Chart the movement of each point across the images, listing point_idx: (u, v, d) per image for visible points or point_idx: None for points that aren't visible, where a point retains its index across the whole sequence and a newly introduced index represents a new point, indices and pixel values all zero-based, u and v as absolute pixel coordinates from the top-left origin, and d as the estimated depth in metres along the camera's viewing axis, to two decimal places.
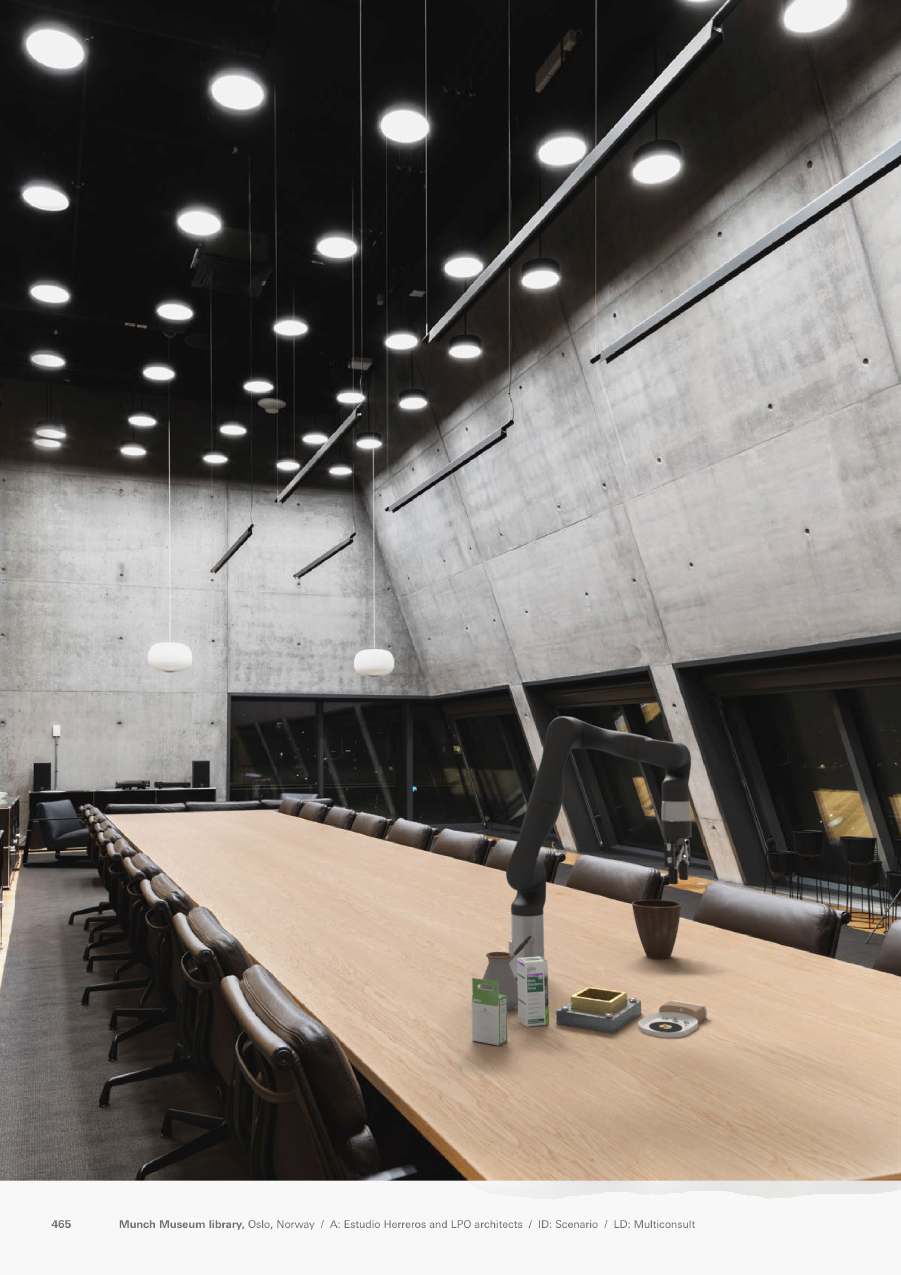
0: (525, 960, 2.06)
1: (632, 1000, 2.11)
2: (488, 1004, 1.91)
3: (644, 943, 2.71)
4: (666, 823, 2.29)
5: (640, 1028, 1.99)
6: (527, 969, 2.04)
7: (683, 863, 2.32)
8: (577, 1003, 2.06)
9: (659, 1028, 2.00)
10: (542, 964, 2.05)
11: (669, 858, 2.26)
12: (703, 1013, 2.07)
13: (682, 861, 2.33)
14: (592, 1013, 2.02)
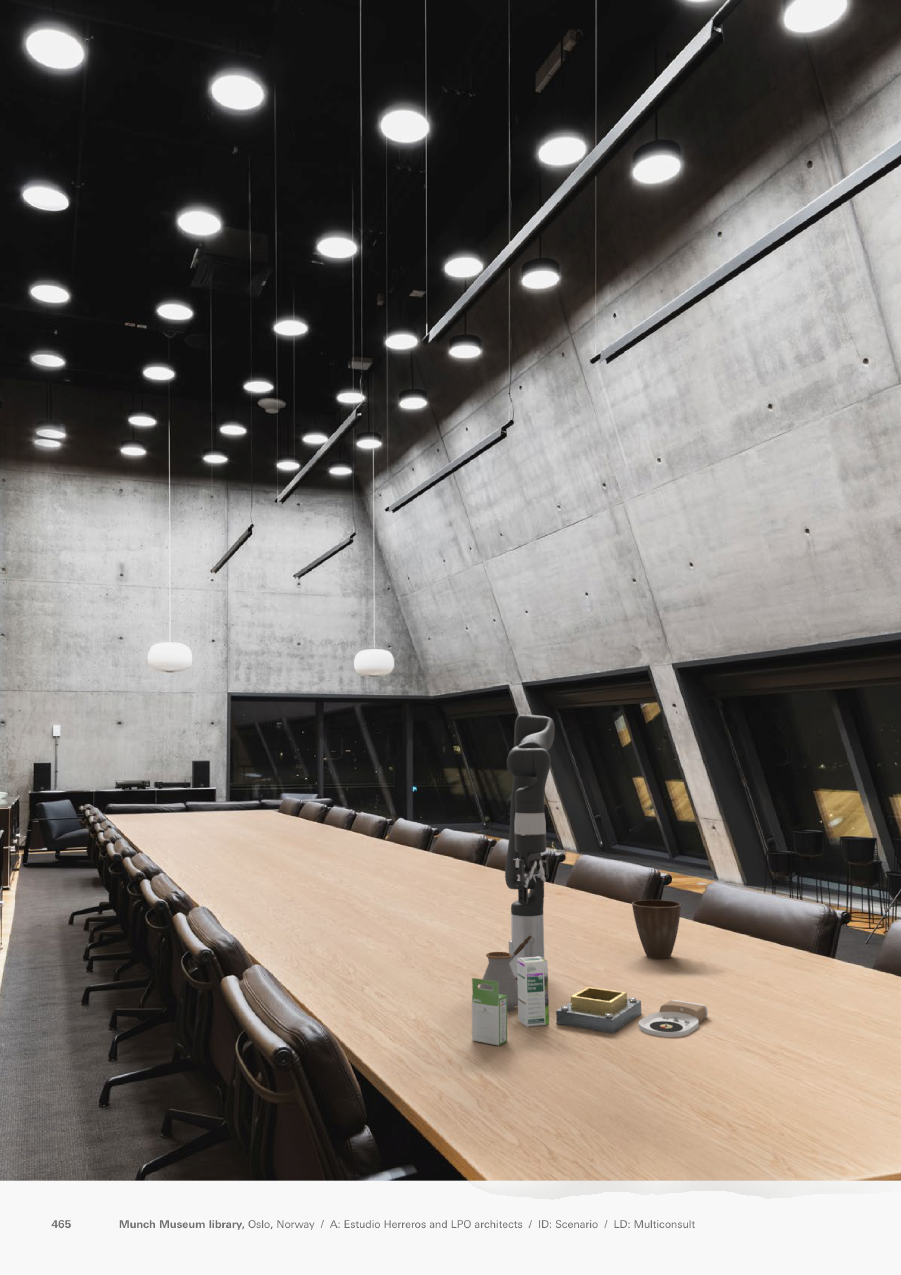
0: (525, 960, 2.06)
1: (632, 1000, 2.11)
2: (488, 1004, 1.91)
3: (644, 943, 2.71)
4: (518, 837, 2.09)
5: (641, 1028, 1.99)
6: (527, 969, 2.04)
7: (539, 880, 2.13)
8: (577, 1003, 2.06)
9: (660, 1028, 2.00)
10: (542, 964, 2.05)
11: (519, 875, 2.07)
12: (704, 1013, 2.08)
13: (538, 878, 2.14)
14: (592, 1013, 2.02)
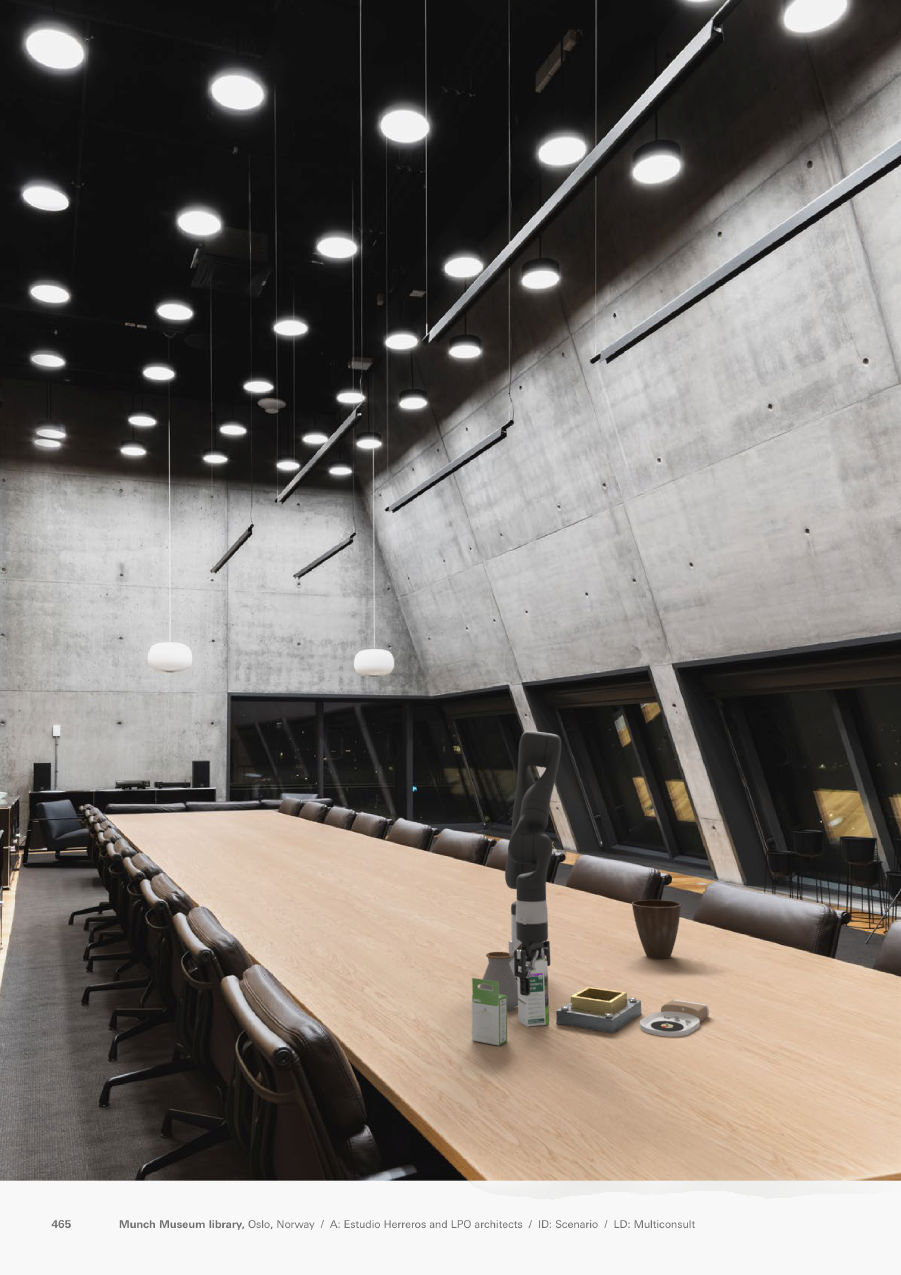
0: None
1: (632, 1000, 2.11)
2: (488, 1004, 1.91)
3: (644, 943, 2.71)
4: (519, 925, 2.06)
5: (642, 1027, 2.00)
6: None
7: None
8: (577, 1003, 2.06)
9: (661, 1027, 2.00)
10: (542, 963, 2.05)
11: None
12: (705, 1012, 2.08)
13: None
14: (592, 1013, 2.02)
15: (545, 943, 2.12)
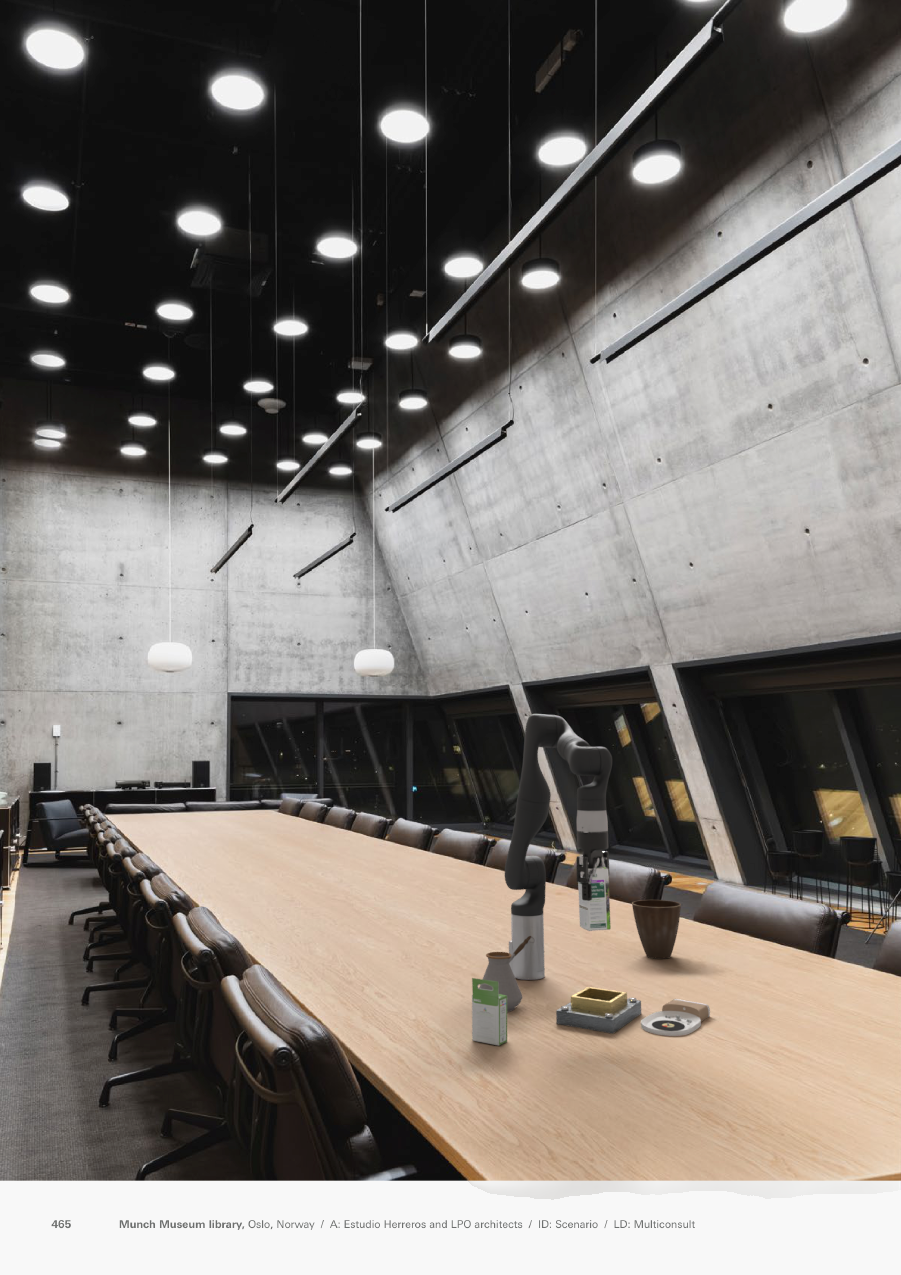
0: None
1: (632, 1000, 2.11)
2: (488, 1004, 1.91)
3: (644, 943, 2.71)
4: (580, 834, 2.12)
5: (643, 1026, 2.00)
6: None
7: None
8: (577, 1003, 2.06)
9: (662, 1027, 2.01)
10: (603, 871, 2.11)
11: (583, 872, 2.10)
12: (706, 1012, 2.08)
13: None
14: (592, 1013, 2.02)
15: (604, 853, 2.18)
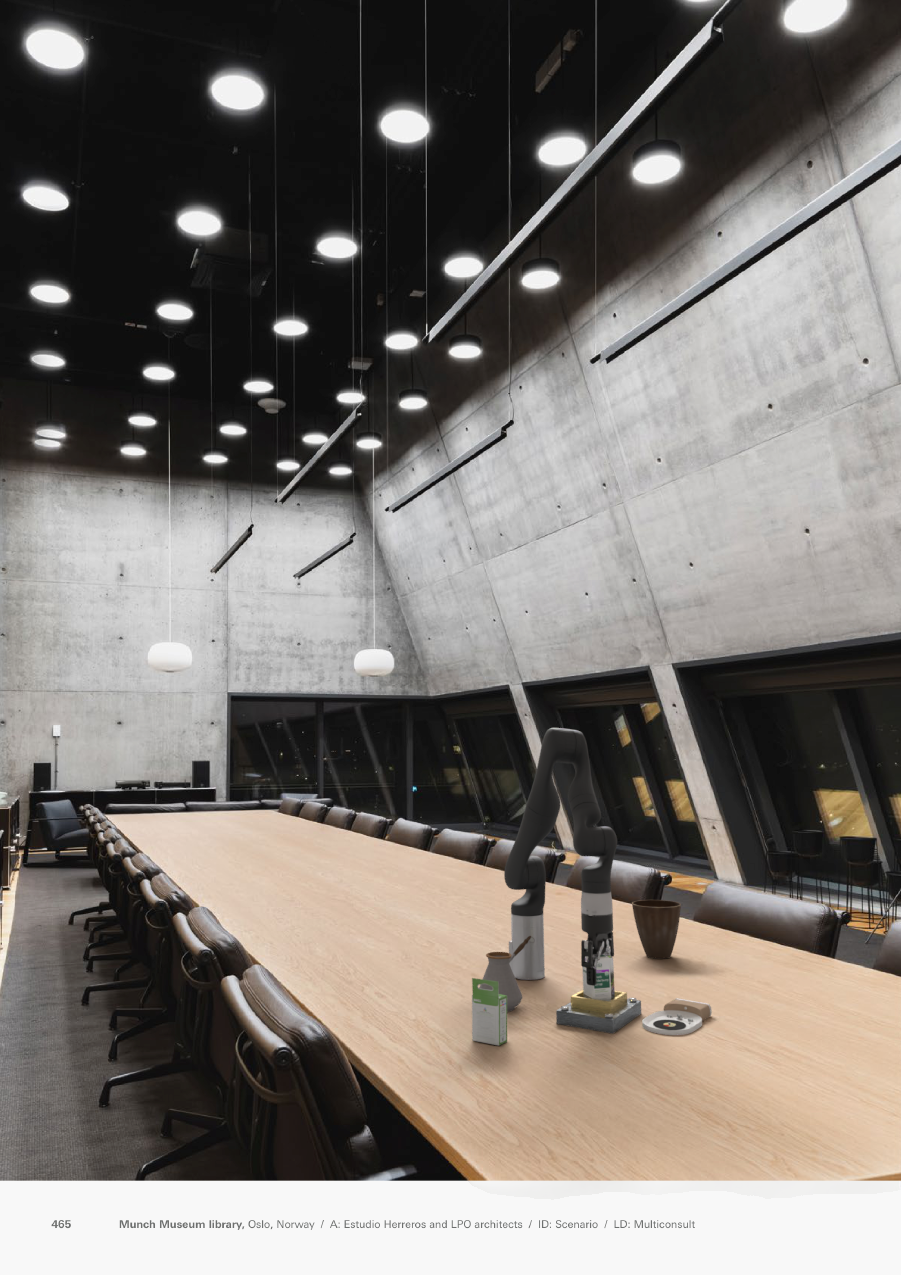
0: None
1: (632, 1000, 2.11)
2: (488, 1004, 1.91)
3: (644, 943, 2.71)
4: (585, 917, 2.10)
5: (644, 1026, 2.01)
6: None
7: None
8: (577, 1003, 2.06)
9: (663, 1026, 2.01)
10: (608, 960, 2.08)
11: None
12: (707, 1011, 2.09)
13: None
14: (592, 1013, 2.02)
15: (609, 934, 2.15)
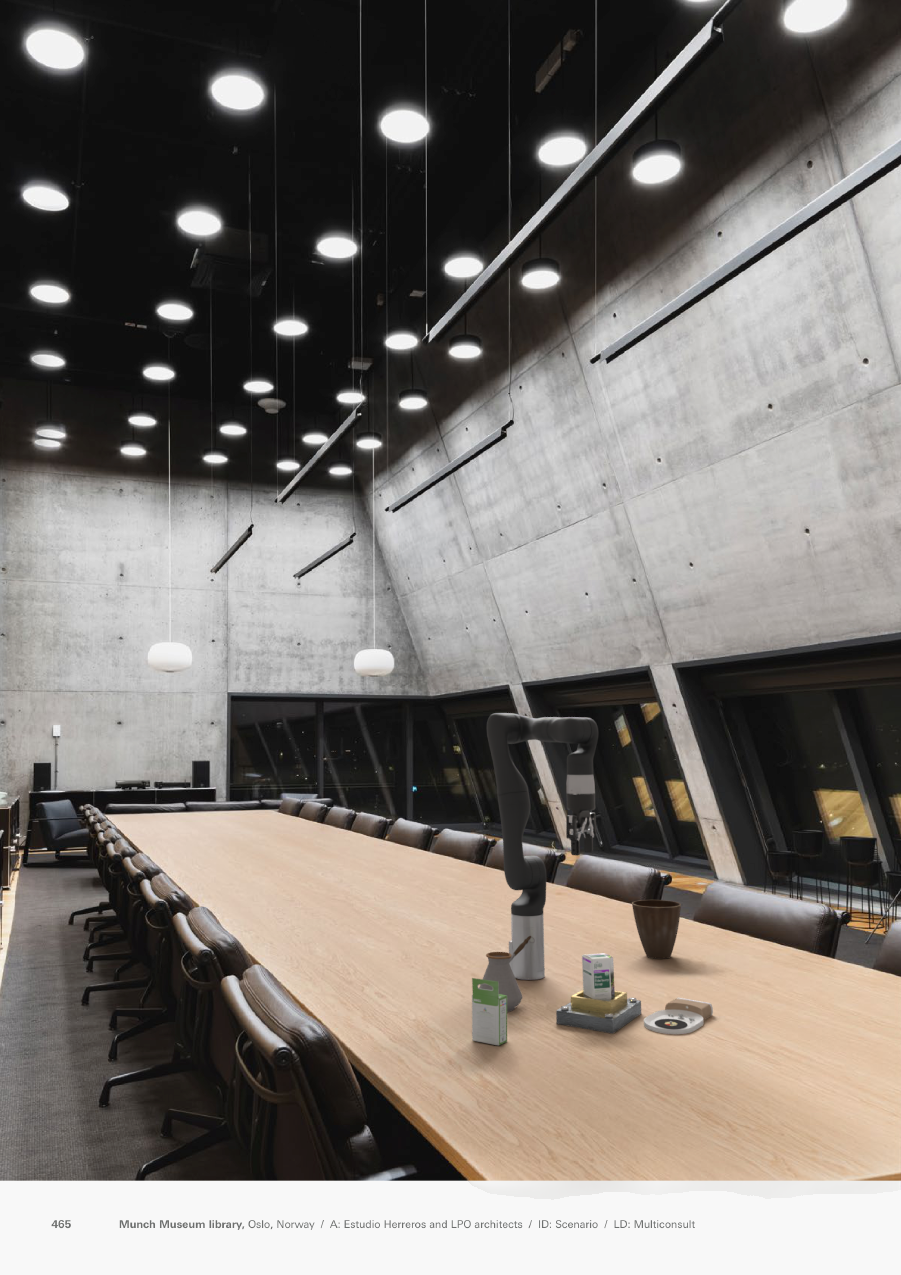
0: (591, 957, 2.09)
1: (632, 1000, 2.11)
2: (488, 1004, 1.91)
3: (644, 943, 2.71)
4: (570, 796, 2.33)
5: (645, 1025, 2.01)
6: (594, 966, 2.07)
7: (588, 835, 2.37)
8: (577, 1003, 2.06)
9: (664, 1025, 2.02)
10: (608, 960, 2.08)
11: (572, 830, 2.31)
12: (709, 1011, 2.09)
13: (587, 834, 2.38)
14: (592, 1013, 2.02)
15: (592, 814, 2.39)
